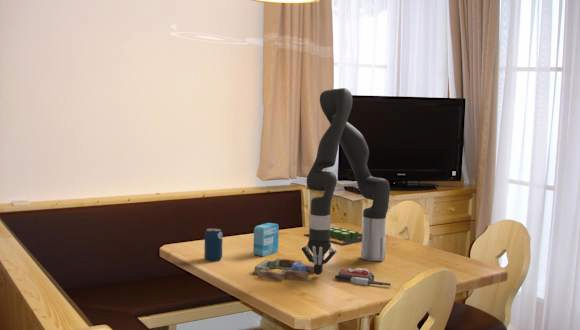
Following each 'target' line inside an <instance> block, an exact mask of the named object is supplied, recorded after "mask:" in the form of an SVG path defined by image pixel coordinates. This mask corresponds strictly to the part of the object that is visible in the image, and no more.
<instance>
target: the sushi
mask: <svg viewBox="0 0 580 330" xmlns="http://www.w3.org/2000/svg"><path fill="white" fill-rule="evenodd" d="M303 235H304V237H307V238H309V233H306V234H303ZM339 239H340V240H339ZM343 240H344V241H343ZM353 243H354V244H357V243H362V233H360V232H359V231H355V230H351V229H348V228H343V227H339V226H333V227H330V244H335V245H337V244H338V246H341V247H342V246H348V245H353Z"/></svg>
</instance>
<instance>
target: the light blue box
mask: <svg viewBox="0 0 580 330" xmlns="http://www.w3.org/2000/svg"><path fill="white" fill-rule="evenodd" d="M279 227H280V226H279V224H278V223H274V222H273V223H272V222H267V223H262V224H260V225H256V226H255V227H254V229H253V255H254V256H258V257H267V256H269V255H272V254H275V253H277V252H278V251H279V230H280V228H279Z"/></svg>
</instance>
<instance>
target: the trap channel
mask: <svg viewBox="0 0 580 330" xmlns="http://www.w3.org/2000/svg"><path fill="white" fill-rule="evenodd" d="M294 263H302V260H299V259H291V258H282V257H278V258H276V259H275V260H272V259H264V260H263V261H261V262H260V263H258V264H257V265H255V266H254V274H256V275H258V279H264V280H265V279H266V280H271V281H278V282H284V281H285V280H286V279H293V280H299V281H308V280H309V274H314V275H316V274H315V273H314V264H313V265H311V264H305V263H303V264H304V265H305V266H306V272H301V271H293V270H291V267H292V265H293V264H294ZM270 269H279V270H280V269H281V271H279V272H277V271H272V270H270Z"/></svg>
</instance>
